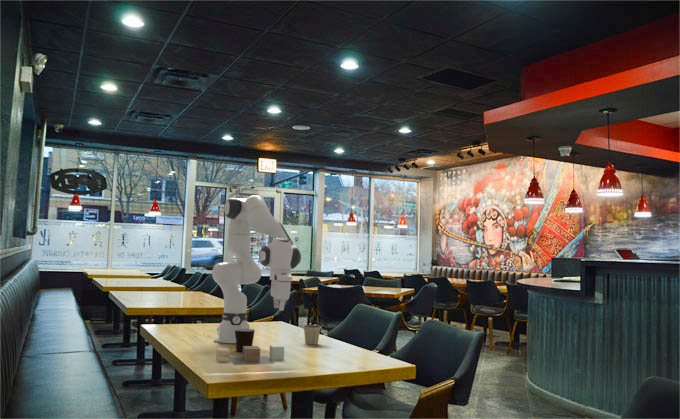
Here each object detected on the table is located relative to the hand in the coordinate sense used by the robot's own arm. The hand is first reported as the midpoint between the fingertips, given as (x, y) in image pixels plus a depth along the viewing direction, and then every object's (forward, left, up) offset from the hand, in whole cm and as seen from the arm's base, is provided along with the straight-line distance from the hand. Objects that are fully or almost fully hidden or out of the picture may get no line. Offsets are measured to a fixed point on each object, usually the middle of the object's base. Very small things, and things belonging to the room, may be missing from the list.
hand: (278, 309), depth 220 cm
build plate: (+2, -11, -21) cm, 24 cm away
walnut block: (+2, -11, -20) cm, 23 cm away
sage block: (0, 0, -21) cm, 21 cm away
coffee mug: (-19, -10, -21) cm, 30 cm away
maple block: (0, -22, -21) cm, 30 cm away
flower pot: (-37, +26, -21) cm, 50 cm away
